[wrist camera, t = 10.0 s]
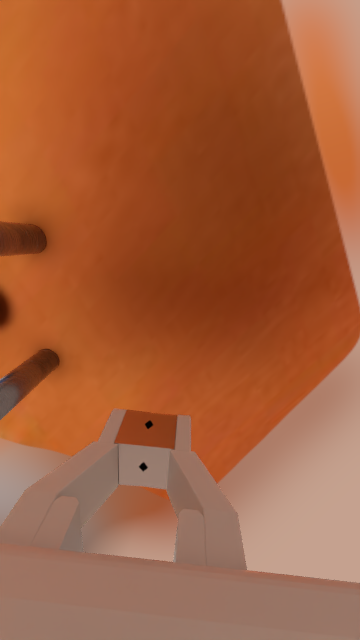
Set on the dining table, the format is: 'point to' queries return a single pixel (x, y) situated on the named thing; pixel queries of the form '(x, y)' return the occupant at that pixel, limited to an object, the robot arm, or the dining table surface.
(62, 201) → the dining table surface
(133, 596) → the robot arm
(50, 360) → the far post
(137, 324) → the dining table surface
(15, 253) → the near post
